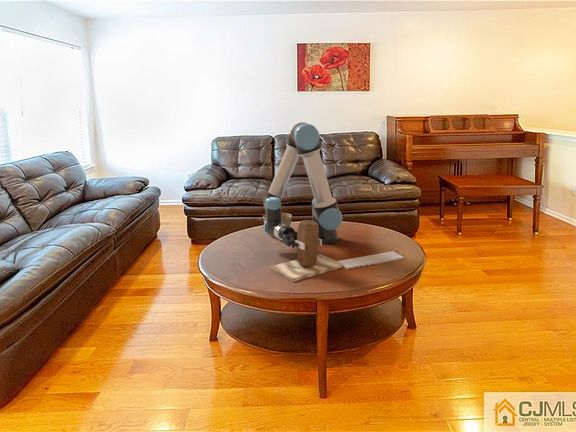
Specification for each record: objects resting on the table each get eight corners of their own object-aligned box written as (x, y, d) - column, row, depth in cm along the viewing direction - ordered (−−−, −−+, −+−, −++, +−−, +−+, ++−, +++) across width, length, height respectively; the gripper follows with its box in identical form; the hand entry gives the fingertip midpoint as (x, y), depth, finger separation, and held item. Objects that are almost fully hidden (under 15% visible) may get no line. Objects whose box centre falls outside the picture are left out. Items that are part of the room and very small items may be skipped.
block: (318, 266, 208) (320, 223, 204) (302, 267, 206) (305, 224, 202) (308, 259, 218) (311, 218, 214) (294, 260, 216) (296, 218, 212)
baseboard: (334, 262, 220) (346, 270, 209) (334, 256, 219) (346, 264, 208) (389, 252, 230) (404, 260, 220) (389, 246, 230) (404, 254, 219)
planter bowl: (286, 239, 254) (285, 220, 251) (259, 237, 259) (258, 218, 257) (296, 231, 268) (295, 213, 266) (270, 229, 274) (269, 211, 271)
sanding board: (319, 256, 226) (319, 253, 226) (343, 267, 211) (343, 264, 211) (270, 269, 211) (270, 266, 211) (292, 281, 197) (292, 278, 196)
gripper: (303, 236, 231) (331, 247, 213) (266, 244, 220) (292, 257, 202) (302, 221, 229) (331, 232, 211) (265, 229, 218) (292, 241, 200)
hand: (312, 244), depth 206 cm, fingers closed on block, 9 cm apart
